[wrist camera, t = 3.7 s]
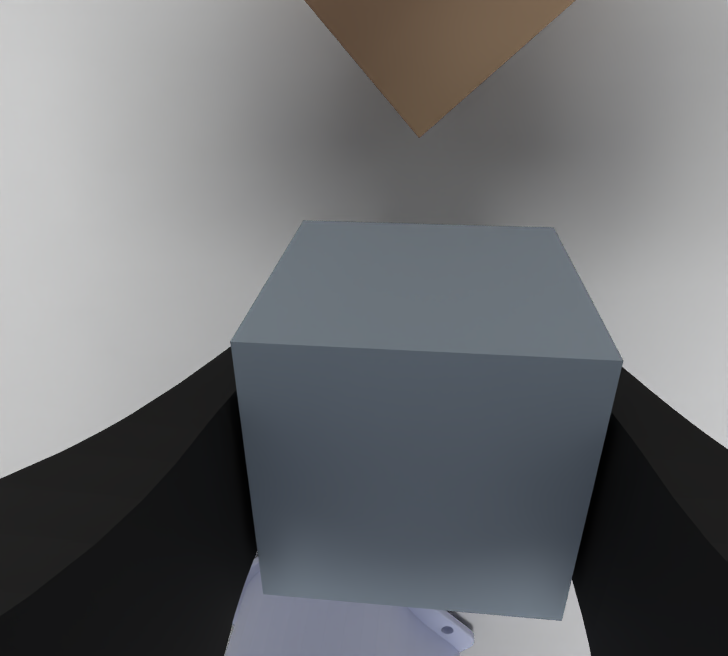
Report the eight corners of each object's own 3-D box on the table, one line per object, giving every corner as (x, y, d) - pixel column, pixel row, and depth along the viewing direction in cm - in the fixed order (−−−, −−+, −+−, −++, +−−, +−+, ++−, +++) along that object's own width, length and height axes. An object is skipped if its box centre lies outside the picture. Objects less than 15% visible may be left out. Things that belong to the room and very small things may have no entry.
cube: (554, 227, 11) (623, 361, 7) (523, 430, 13) (562, 620, 9) (303, 220, 11) (230, 341, 7) (314, 417, 13) (263, 593, 9)
